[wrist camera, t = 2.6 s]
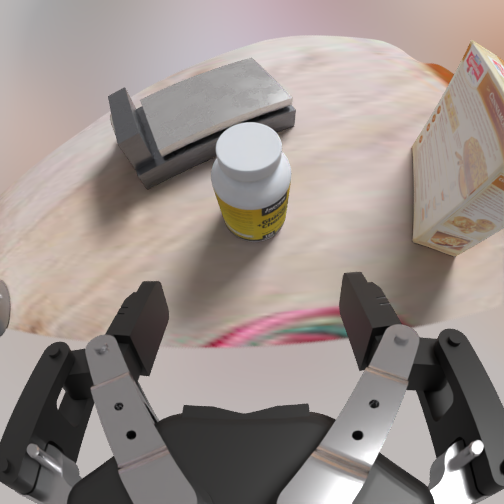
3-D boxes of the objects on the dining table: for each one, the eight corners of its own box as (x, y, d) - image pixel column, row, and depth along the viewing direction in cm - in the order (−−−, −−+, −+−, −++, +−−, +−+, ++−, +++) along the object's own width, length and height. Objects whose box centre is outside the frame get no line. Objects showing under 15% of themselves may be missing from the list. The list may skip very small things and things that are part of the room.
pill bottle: (251, 256, 28) (241, 202, 17) (212, 213, 30) (184, 145, 19) (298, 217, 29) (314, 148, 18) (258, 178, 31) (253, 102, 20)
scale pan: (162, 156, 28) (158, 150, 27) (143, 105, 32) (140, 99, 30) (291, 104, 30) (292, 97, 29) (252, 64, 33) (251, 57, 32)
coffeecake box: (456, 258, 27) (572, 182, 8) (410, 243, 28) (525, 139, 9) (451, 162, 31) (518, 70, 12) (410, 144, 32) (469, 36, 13)
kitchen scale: (143, 191, 31) (114, 153, 24) (125, 132, 35) (103, 95, 27) (294, 125, 33) (298, 78, 25) (252, 79, 37) (249, 37, 29)
